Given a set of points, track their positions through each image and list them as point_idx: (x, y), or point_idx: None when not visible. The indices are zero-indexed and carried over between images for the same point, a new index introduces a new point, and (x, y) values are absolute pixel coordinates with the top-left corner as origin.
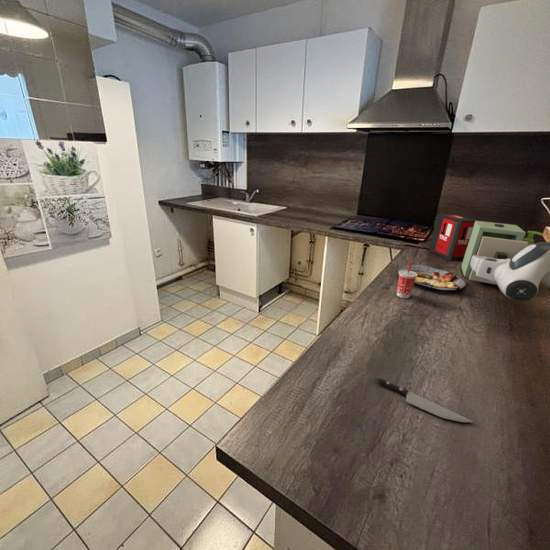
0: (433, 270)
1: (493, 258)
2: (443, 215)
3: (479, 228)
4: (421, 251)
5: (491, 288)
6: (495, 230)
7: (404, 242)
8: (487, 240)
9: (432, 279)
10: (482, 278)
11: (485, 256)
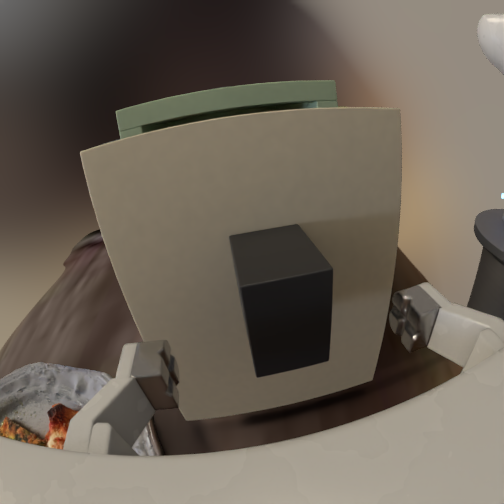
0: (67, 377)
1: (152, 500)
2: (107, 142)
3: (118, 119)
4: (104, 255)
5: (300, 413)
6: (195, 100)
7: (87, 237)
8: (120, 168)
9: None
10: (240, 402)
11: (124, 366)
